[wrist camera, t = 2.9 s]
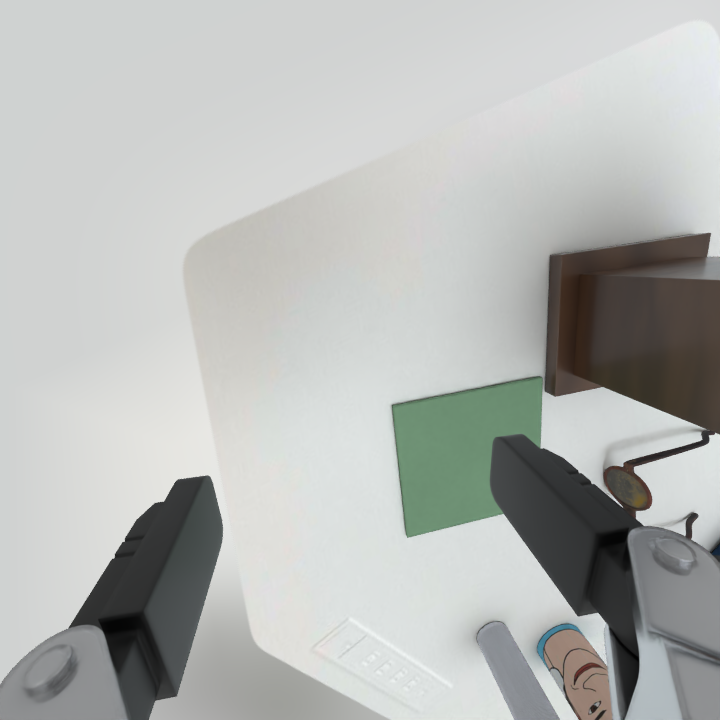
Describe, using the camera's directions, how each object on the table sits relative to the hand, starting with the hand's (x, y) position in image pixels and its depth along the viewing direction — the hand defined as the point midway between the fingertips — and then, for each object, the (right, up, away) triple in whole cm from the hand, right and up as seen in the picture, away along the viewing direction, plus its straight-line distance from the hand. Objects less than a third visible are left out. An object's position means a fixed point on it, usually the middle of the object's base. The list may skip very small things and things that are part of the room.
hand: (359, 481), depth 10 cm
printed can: (+28, -37, +39) cm, 60 cm away
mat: (+12, -7, +27) cm, 30 cm away
